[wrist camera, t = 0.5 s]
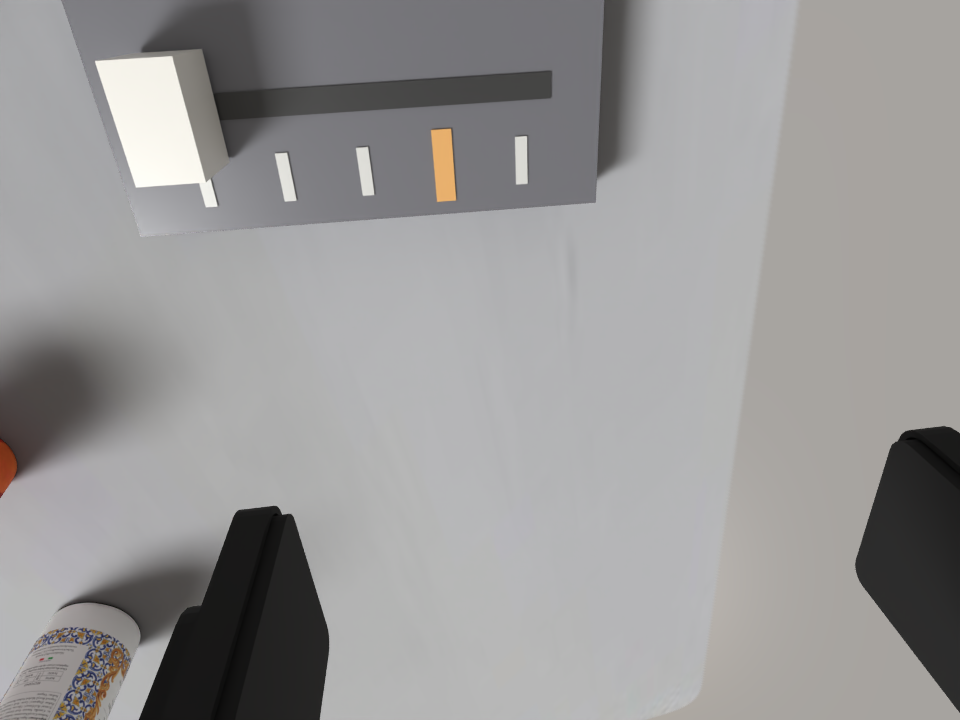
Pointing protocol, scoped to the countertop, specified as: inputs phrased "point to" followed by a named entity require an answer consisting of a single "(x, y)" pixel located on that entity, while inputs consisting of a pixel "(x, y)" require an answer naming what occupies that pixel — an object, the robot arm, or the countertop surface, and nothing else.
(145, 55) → the fader knob
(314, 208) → the fader console
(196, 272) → the countertop surface
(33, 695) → the bath foam
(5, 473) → the paper cup
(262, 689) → the robot arm
